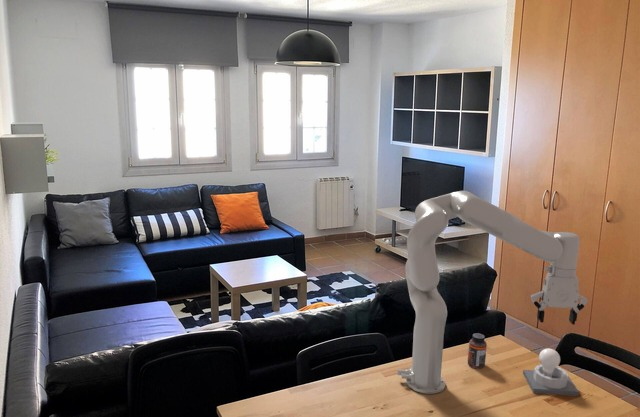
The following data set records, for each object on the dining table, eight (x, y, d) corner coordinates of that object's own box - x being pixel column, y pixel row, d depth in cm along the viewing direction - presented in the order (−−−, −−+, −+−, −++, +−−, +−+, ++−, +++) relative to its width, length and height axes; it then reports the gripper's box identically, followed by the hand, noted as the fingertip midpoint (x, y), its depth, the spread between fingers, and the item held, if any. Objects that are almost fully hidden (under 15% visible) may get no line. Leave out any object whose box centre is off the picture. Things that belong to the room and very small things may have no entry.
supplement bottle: (464, 362, 187) (466, 332, 185) (478, 359, 189) (480, 330, 186) (473, 370, 182) (476, 340, 179) (488, 368, 183) (491, 338, 181)
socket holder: (533, 392, 168) (534, 380, 167) (522, 373, 180) (524, 361, 179) (578, 395, 167) (580, 383, 166) (565, 376, 178) (566, 364, 177)
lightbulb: (559, 386, 169) (563, 355, 167) (538, 383, 170) (542, 352, 168) (554, 376, 175) (558, 346, 173) (534, 374, 177) (538, 344, 174)
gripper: (537, 273, 162) (531, 325, 166) (595, 276, 161) (588, 328, 164) (530, 266, 170) (525, 315, 173) (586, 269, 168) (579, 318, 171)
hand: (556, 321), depth 169 cm, fingers open, 9 cm apart
